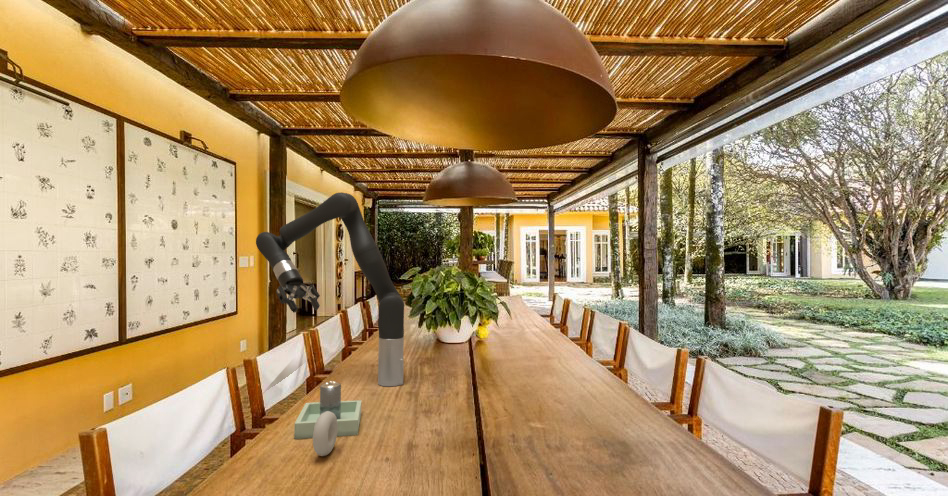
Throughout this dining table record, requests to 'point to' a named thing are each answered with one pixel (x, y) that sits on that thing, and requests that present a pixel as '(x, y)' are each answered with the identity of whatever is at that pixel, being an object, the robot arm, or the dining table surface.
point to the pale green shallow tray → (345, 424)
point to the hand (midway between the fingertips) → (306, 309)
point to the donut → (325, 433)
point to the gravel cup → (330, 398)
